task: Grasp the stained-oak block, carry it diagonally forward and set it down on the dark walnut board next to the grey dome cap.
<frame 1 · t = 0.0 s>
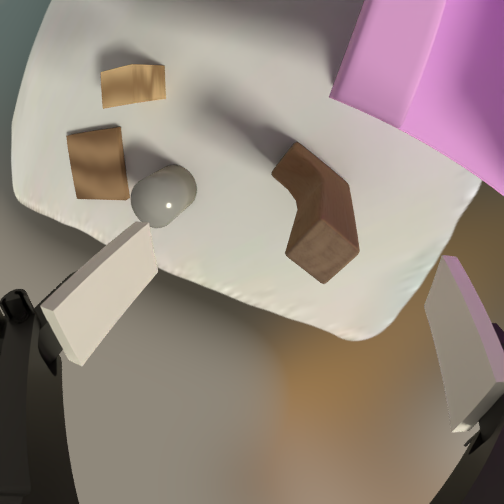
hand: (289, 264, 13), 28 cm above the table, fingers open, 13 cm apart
walnut board: (98, 164, 45), on the table
chair: (426, 63, 27), on the table
oak block: (150, 84, 36), on the table
grey dome cap: (175, 187, 44), on the table
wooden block: (313, 174, 38), on the table
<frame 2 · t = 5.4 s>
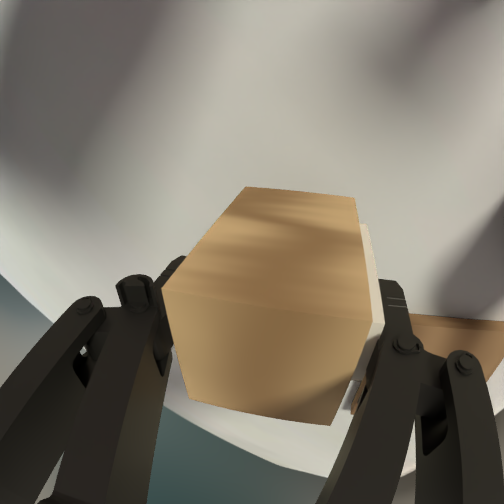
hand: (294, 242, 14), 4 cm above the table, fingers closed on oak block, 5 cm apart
walnut board: (431, 370, 21), on the table
oak block: (295, 240, 15), point 4 cm above the table, touching gripper
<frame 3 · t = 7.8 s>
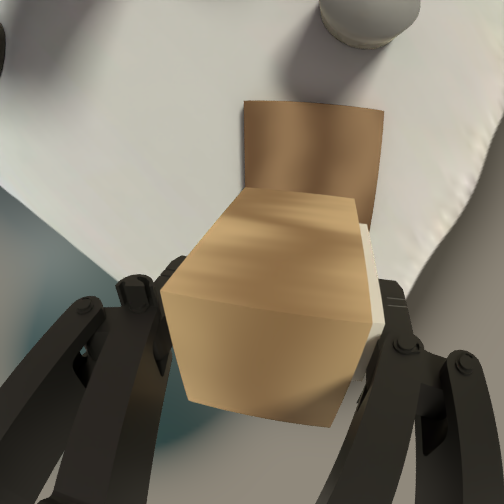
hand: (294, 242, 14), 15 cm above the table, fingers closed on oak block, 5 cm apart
walnut board: (311, 166, 27), on the table
oak block: (295, 241, 15), point 14 cm above the table, touching gripper
grey dome cap: (360, 14, 18), on the table
when the fingers open (1 cm above the table, at t = 10.1 s): oak block stays where it is, resting on walnut board.
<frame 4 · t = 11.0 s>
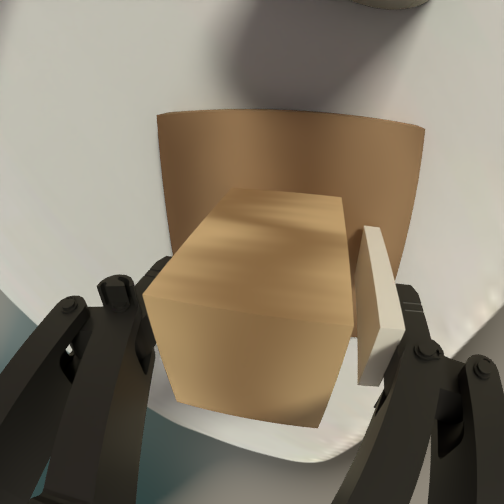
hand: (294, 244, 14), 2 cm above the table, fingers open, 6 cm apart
walnut board: (285, 228, 16), on the table
oak block: (283, 240, 15), point 1 cm above the table, touching gripper, walnut board
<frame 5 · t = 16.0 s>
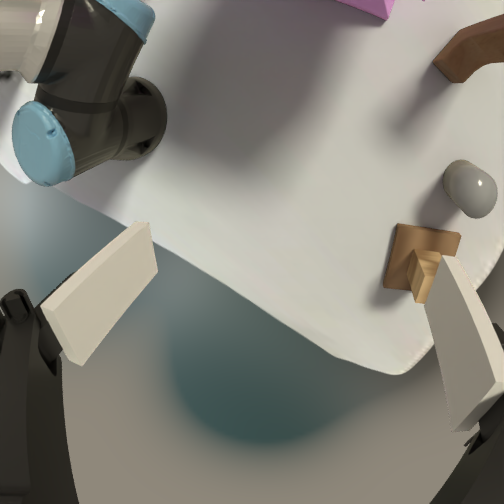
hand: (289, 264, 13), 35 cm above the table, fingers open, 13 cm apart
walnut board: (421, 259, 47), on the table
oak block: (422, 263, 46), point 1 cm above the table, touching walnut board
grey dome cap: (461, 180, 38), on the table
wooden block: (456, 55, 29), on the table
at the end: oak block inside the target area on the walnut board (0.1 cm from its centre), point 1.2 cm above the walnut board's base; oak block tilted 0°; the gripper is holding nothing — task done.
